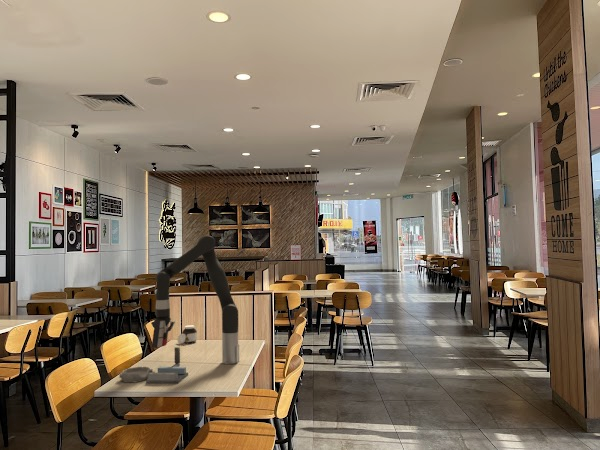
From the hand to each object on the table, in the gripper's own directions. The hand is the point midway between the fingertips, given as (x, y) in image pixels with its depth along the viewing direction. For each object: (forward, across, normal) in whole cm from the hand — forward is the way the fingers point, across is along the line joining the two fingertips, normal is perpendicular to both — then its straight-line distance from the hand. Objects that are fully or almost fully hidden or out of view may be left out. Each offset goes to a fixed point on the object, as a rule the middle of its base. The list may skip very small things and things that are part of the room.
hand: (163, 339), depth 268 cm
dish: (+16, +6, +22) cm, 28 cm away
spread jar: (+16, +11, -72) cm, 75 cm away
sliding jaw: (+14, -11, +12) cm, 22 cm away
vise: (+16, -10, +22) cm, 29 cm away
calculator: (+4, +2, 0) cm, 5 cm away
